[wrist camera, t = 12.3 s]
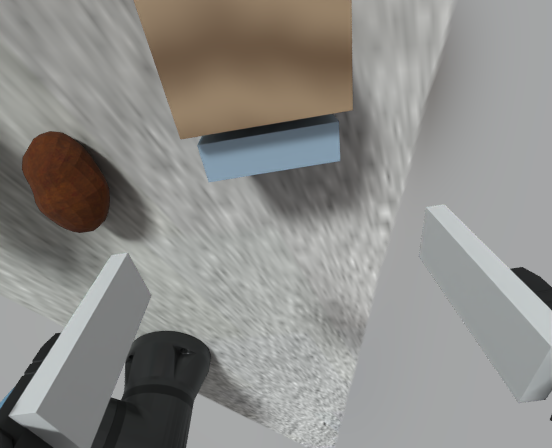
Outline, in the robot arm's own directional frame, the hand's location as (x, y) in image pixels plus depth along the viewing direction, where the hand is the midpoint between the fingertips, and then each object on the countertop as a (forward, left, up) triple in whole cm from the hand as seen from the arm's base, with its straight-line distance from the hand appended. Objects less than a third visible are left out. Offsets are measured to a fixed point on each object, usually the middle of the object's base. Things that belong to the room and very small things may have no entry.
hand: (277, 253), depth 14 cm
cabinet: (+4, 0, -24) cm, 25 cm away
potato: (-3, +23, -25) cm, 34 cm away
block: (0, 0, -24) cm, 25 cm away
